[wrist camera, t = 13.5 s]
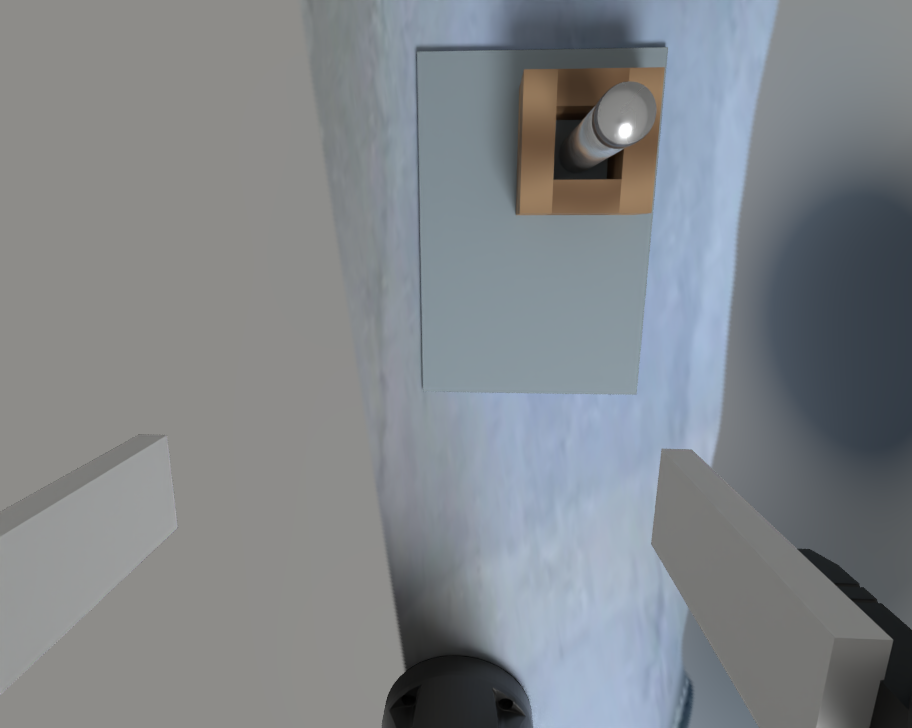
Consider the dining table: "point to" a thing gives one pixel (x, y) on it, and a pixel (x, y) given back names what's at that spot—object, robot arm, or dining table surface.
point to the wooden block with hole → (573, 99)
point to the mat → (519, 241)
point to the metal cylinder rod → (609, 126)
